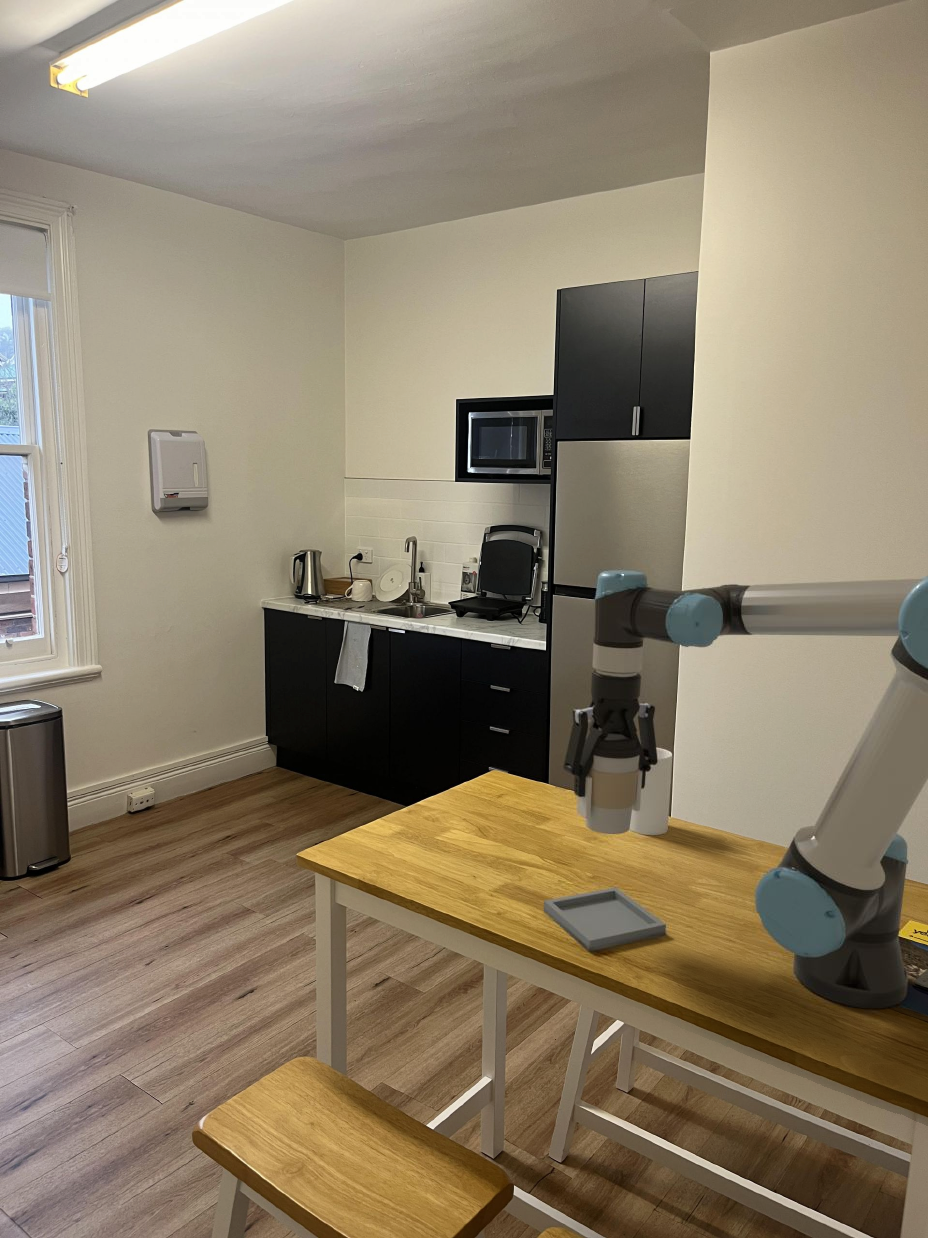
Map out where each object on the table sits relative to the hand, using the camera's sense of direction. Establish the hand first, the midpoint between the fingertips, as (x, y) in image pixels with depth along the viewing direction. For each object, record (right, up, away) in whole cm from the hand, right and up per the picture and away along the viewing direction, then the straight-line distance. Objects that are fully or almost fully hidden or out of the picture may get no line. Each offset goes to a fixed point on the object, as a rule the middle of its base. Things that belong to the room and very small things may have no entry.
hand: (608, 811), depth 144 cm
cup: (+15, -13, +44) cm, 48 cm away
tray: (0, -18, +3) cm, 19 cm away
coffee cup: (0, -3, 0) cm, 3 cm away
